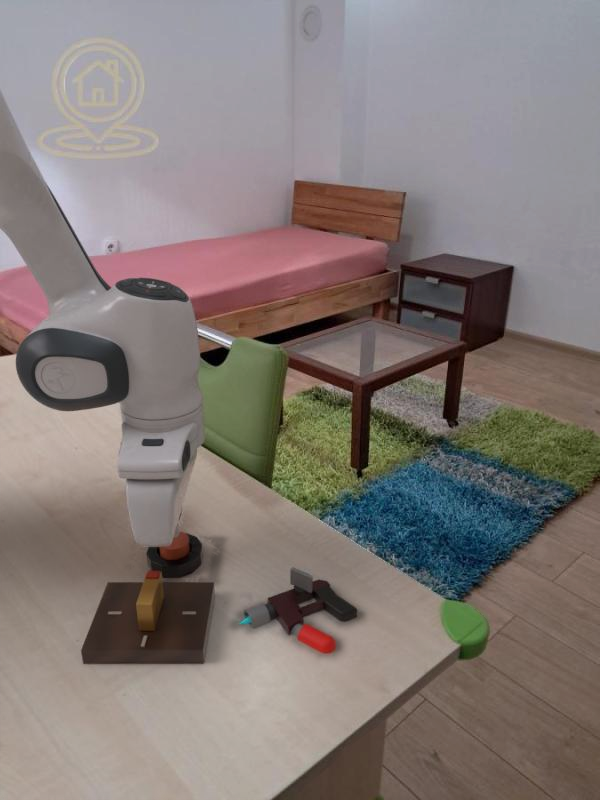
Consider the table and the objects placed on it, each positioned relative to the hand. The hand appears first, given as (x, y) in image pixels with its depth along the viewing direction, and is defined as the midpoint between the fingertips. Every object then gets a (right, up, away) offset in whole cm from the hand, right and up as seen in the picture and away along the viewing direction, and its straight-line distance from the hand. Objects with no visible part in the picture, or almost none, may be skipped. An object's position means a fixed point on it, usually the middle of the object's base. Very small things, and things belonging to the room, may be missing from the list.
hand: (173, 530), depth 75 cm
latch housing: (0, -5, +2) cm, 6 cm away
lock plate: (-1, -10, -8) cm, 12 cm away
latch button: (0, -3, +1) cm, 3 cm away
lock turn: (-1, -7, -9) cm, 11 cm away
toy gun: (+15, -10, -7) cm, 20 cm away
